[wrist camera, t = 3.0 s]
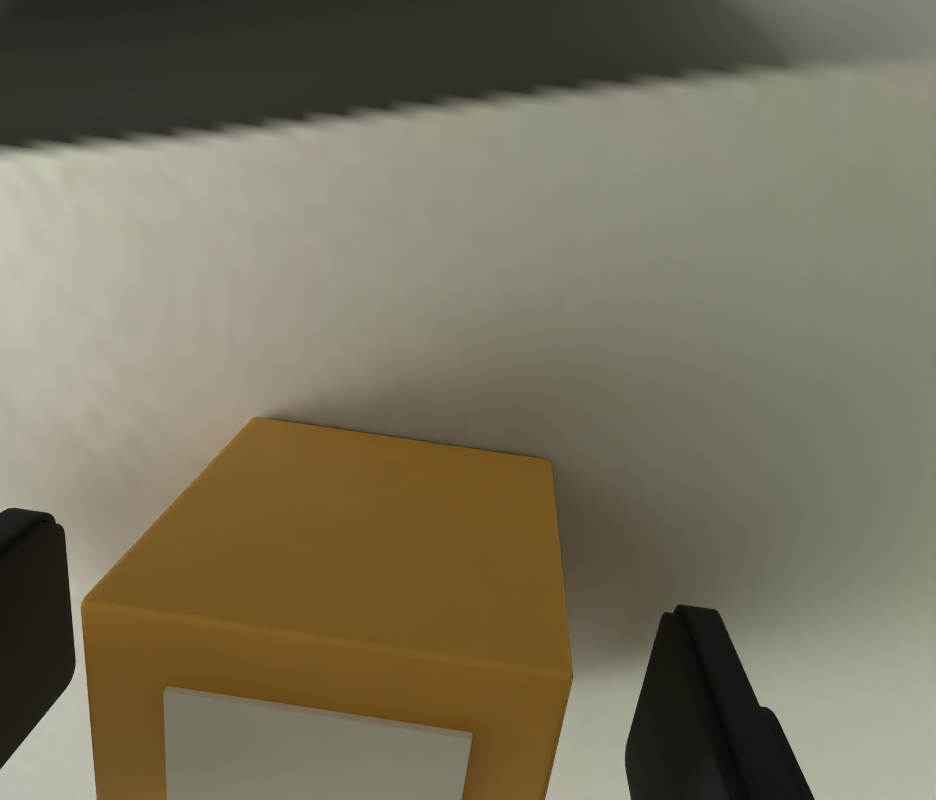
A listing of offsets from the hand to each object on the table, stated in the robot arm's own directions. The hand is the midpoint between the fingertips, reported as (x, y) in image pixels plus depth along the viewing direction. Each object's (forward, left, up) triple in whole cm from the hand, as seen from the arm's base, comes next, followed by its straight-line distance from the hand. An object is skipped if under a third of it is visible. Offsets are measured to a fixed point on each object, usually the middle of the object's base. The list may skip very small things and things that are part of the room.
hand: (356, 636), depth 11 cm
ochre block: (0, 0, -2) cm, 2 cm away
